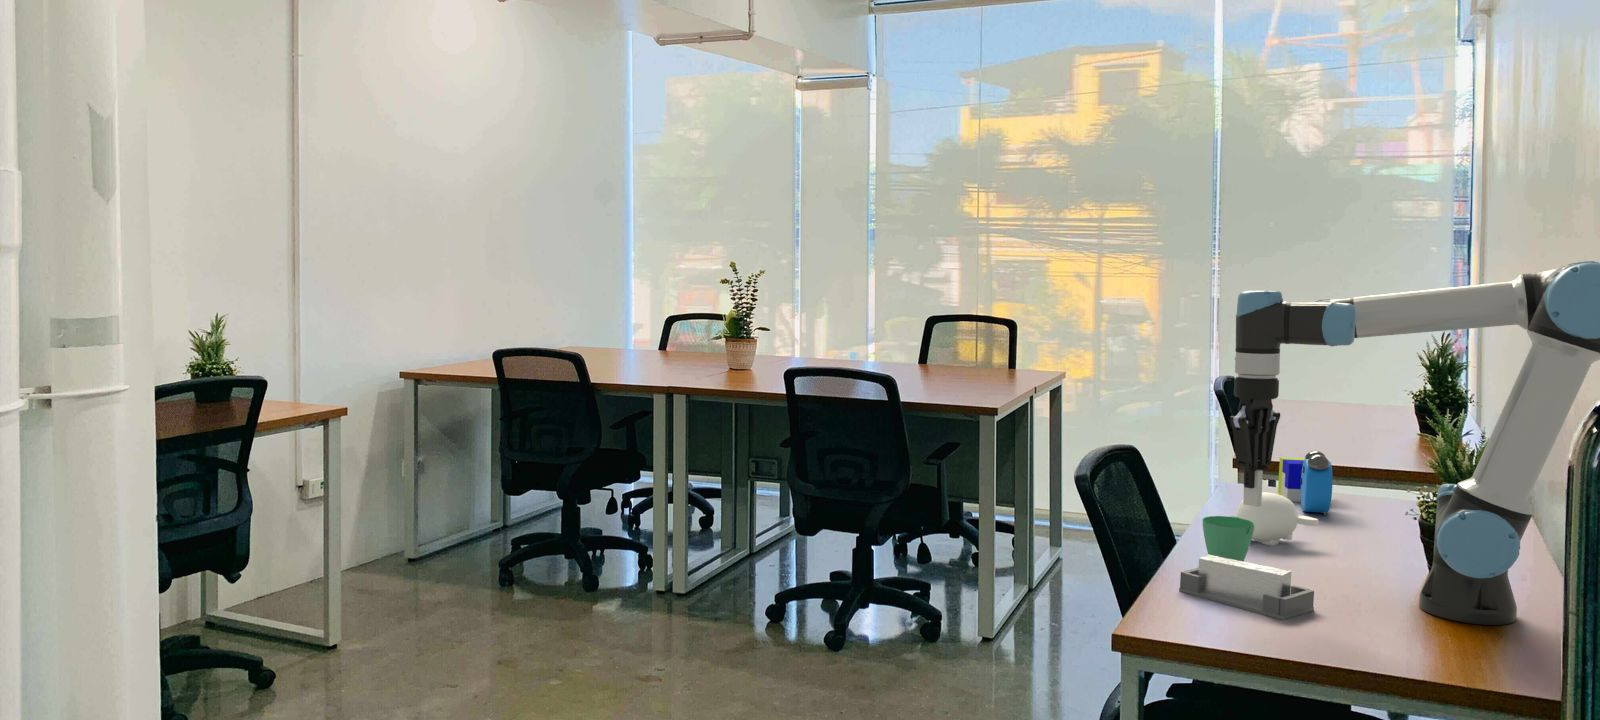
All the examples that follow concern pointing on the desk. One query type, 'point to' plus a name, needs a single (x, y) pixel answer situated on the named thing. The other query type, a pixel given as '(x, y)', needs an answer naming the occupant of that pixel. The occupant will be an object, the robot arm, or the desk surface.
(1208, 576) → the white rectangular block
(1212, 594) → the end caps
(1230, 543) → the mug
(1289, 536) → the piggy bank
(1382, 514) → the desk surface
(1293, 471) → the puzzle toy
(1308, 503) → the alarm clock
